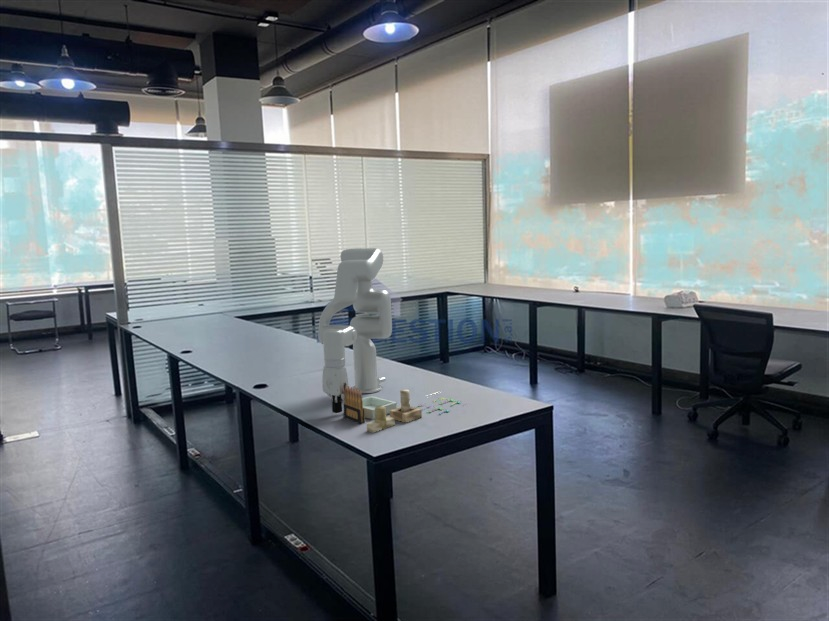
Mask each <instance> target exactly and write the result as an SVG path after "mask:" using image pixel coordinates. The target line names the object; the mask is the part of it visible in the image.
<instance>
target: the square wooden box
mask: <svg viewBox="0 0 829 621" xmlns="http://www.w3.org/2000/svg"><path fill="white" fill-rule="evenodd" d="M414 407H415V406H414ZM414 407H413V406H410V411H409V412H406V413H405V412H401V407H399V408H396V409H393V410H390V414H389V417H392V418H394V419H395V421H397V420H398V421H397V422H400V421H402V422H401V423H404V422H408V423H410V422H413V421H415V420H414V419H416V420H418V419H417V418H419V419H421V418H422V416H423V415H422V414H423V413H422V412H423V410H422V408H419V407H416V408H414ZM420 417H421V418H420ZM412 420H413V421H412ZM409 421H410V422H409Z"/></svg>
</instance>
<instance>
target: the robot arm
mask: <svg viewBox="0 0 829 621" xmlns="http://www.w3.org/2000/svg"><path fill="white" fill-rule="evenodd" d="M383 263H384V254H383V252H382V250H381V249H380V248H375V247H374V248H373V247H369V248H365V247H364V248H359V247H358V248H346V249H344V250H342V251H341V252H340V262H339V264H338V266H337V272H336V279H335V288H334V289H335V290H334V297H333V299H332V300H330V302H329V303H328V304H327V305H326V306H325V308H324V309H323V311H321V314H320V317H319V321H318V323H319V324H318V330H317V337H318V338H317V339H318V341H319V343H320V344H321V345H323V359H324V360H323V363H324V366H323V368H322V380H321V381H322V392H323V393H324V394H326V395H327V396H329V397H330V398H329V399H330V401H331V407H332V409H331V410H332V413H333V414H339V413H342V412H343V401H344V399H345V398H346V395H345V385H346V386H347V388H348V386H349V376H348V372H347V367H346V348H345V347H349V346H352V351H353V372H354V385H353V386H351V387H352V389H353V388H355V391H356V389H358V393H359V390H360V391H361V394H372V393H373V394H374V393H378V392H379V391H381V390H382V385H380V384H381V383H384V382H386V377H385V376H383V377H382V376H381V377H380V378H379V377H378V369H377V367H378V364H377V363H378V362H377V349H376V348H377V347H376V345H375V343H374V342H373V341H372V340H371V339H373V340H374V339H375V340H376V339H378V340H380V339H383V340H384V339H385V340H386V339H388V338H390V337H392V333H393V318H392V316H393V315H392V314H393V313H392V312H393V311H392V300H391V295H390V292H388V290H386V289H374V288H373V281H374V280H375V278H376V277H377V276H378V273H379V272H380V270H381V268H382V266H383ZM350 306H352V307H353V309H354V311H355V312H357V313H366V314H367V313H368V314H369V313H371V314H372V313H377V314H378V315H357V316H354V317H352V318H351V320H350V322H349V325H344V324H343V325H340V324H339V325H338V324H337V325H336V324H335V325H334V324H330V322H331V320H332V318H333V316H334V315H335V314H337V313H338V312H340V311H341V310H343V309H345V308H347V307H350Z"/></svg>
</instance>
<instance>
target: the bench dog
mask: <svg viewBox="0 0 829 621" xmlns="http://www.w3.org/2000/svg"><path fill="white" fill-rule="evenodd" d="M395 421H396V420H395V419H394V418H392V417H390V415H386V407H382V406H380V407H376V408H375V419H374V420H373V421H370V422H367V423H366V431H367V432H370V433H373V434H374V433H377V432H379V430H380V431H381V430H382V429H383V430H386V429H388V428H390V426H391V427H393V425H394V426H395V425H396V423H395ZM387 427H388V428H387ZM376 431H377V432H376Z"/></svg>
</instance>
